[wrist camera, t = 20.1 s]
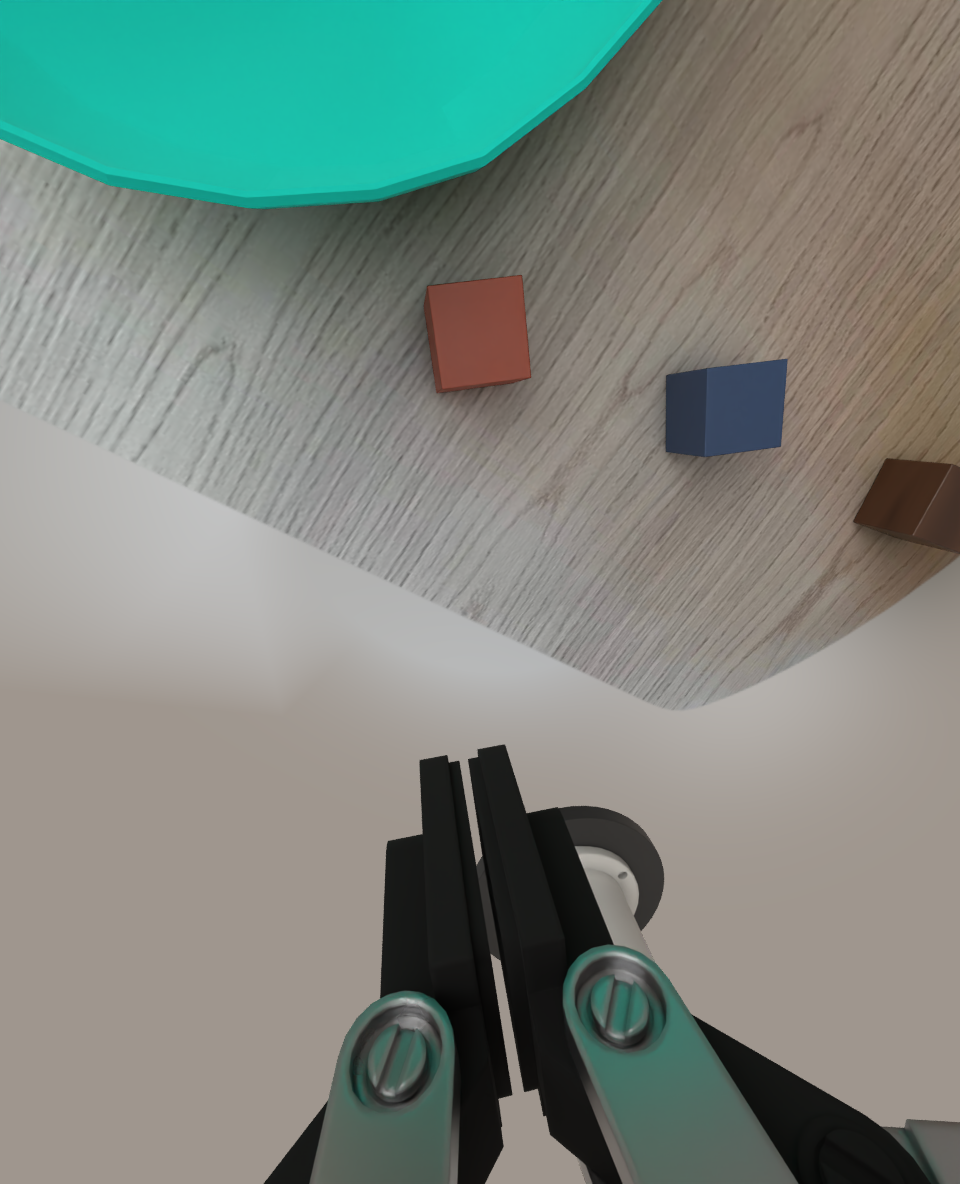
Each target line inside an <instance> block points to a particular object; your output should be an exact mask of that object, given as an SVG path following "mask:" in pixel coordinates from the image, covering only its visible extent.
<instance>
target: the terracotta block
mask: <svg viewBox="0 0 960 1184" xmlns="http://www.w3.org/2000/svg"><path fill="white" fill-rule="evenodd" d="M424 311H425V318H426V325H427V332H428V339H429V345H430V352H431V359H432V366H433V373H434V379H435V386H436V393H443V392H450V391H458V390H465V389H473V388H480V387H488V386H495V385H503V384H510V383H515V382H518V381H522V380H525V379H528V378H531V370H530V359H529V348H528V336H527V325H526V314H525V302H524V291H523V280H522V275H517V276H508V277H499V278H491V279H482V280H473V281H465V282H456V283H447V284H438V285H430V286H427V291H426V296H425V302H424Z"/></svg>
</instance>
